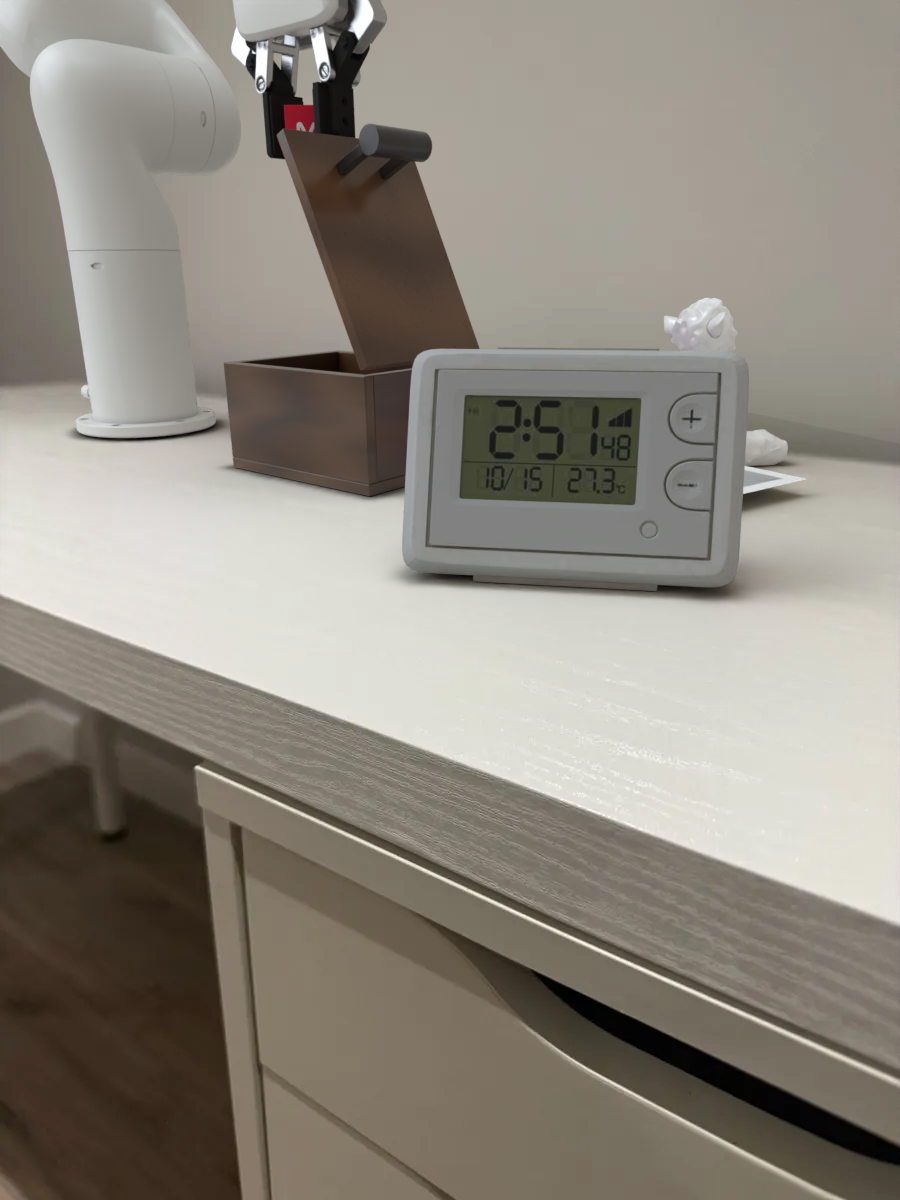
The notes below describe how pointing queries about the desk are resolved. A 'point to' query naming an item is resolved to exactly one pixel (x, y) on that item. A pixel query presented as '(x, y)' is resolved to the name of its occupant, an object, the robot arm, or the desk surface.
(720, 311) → the seated beast figurine
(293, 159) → the lid
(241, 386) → the chest
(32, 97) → the robot arm
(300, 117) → the red letter cube
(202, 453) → the desk surface
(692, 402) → the digital clock
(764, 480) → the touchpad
